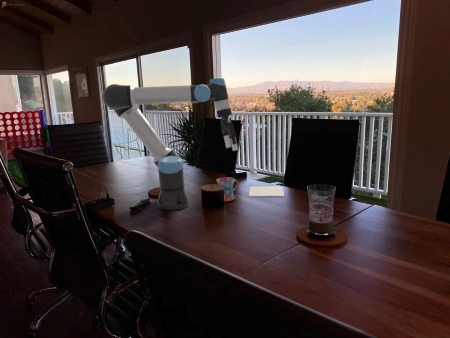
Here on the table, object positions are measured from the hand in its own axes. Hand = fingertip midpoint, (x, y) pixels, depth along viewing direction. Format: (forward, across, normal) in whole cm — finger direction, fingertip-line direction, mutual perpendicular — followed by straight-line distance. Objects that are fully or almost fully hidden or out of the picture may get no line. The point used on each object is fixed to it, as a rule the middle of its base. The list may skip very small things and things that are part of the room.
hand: (231, 148), depth 169 cm
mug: (+23, -10, +10) cm, 27 cm away
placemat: (+27, -5, -12) cm, 30 cm away
